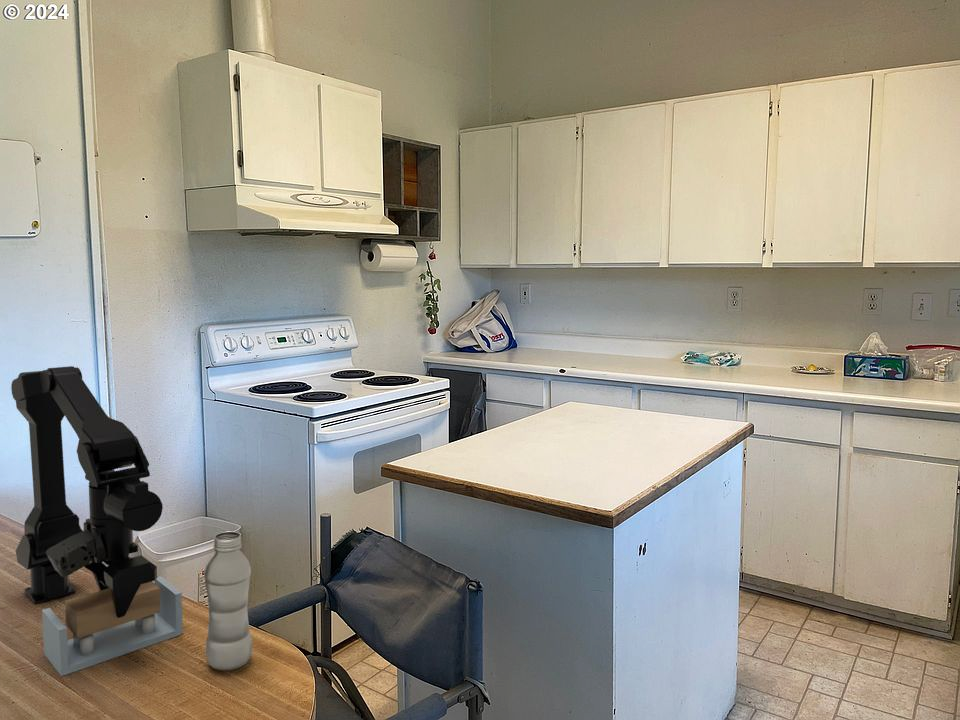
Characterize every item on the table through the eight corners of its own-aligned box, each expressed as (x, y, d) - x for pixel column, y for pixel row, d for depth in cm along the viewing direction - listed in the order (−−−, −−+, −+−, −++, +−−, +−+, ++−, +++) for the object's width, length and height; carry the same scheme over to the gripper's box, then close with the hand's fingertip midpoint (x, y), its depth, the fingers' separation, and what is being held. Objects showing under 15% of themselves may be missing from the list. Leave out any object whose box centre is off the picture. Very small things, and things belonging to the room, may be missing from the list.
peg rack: (43, 653, 108) (41, 609, 107) (161, 615, 121) (160, 576, 120) (61, 676, 103) (59, 630, 102) (182, 634, 115) (181, 592, 114)
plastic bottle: (238, 679, 103) (237, 546, 101) (195, 672, 105) (193, 541, 102) (260, 656, 110) (260, 530, 107) (220, 649, 111) (218, 525, 108)
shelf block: (66, 625, 109) (64, 600, 108) (147, 600, 117) (146, 577, 117) (77, 638, 105) (76, 612, 105) (160, 612, 114) (159, 588, 113)
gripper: (32, 508, 109) (36, 605, 112) (73, 545, 97) (77, 653, 99) (110, 493, 117) (112, 584, 120) (157, 525, 105) (159, 626, 107)
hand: (114, 610), depth 111 cm, fingers closed on shelf block, 5 cm apart
